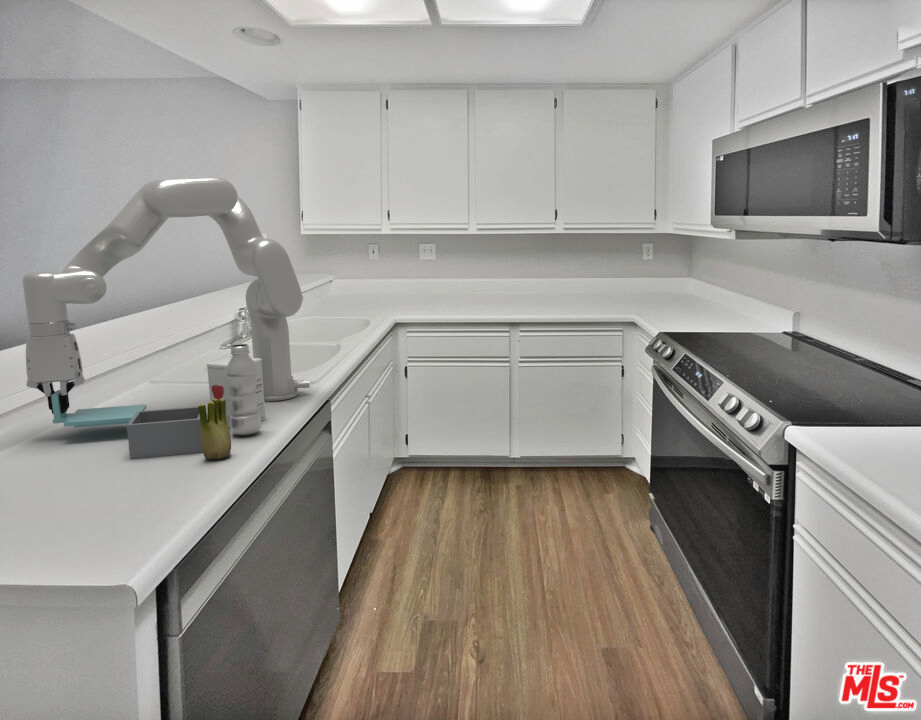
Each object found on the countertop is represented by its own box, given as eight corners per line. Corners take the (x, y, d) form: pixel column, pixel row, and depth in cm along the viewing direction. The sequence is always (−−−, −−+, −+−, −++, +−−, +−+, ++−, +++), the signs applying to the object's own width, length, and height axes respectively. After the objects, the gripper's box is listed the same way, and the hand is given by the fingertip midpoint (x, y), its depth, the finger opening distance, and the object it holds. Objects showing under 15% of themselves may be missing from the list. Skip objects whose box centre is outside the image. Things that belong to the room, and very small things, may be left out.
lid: (146, 411, 169) (143, 381, 168) (137, 424, 158) (134, 392, 157) (64, 417, 165) (60, 386, 163) (49, 431, 154) (44, 398, 152)
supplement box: (210, 426, 166) (204, 363, 164) (235, 416, 175) (230, 355, 172) (243, 429, 163) (238, 365, 160) (267, 419, 172) (262, 357, 169)
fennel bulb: (203, 463, 141) (197, 404, 139) (201, 456, 146) (195, 398, 143) (234, 459, 144) (229, 401, 141) (231, 452, 148) (226, 395, 146)
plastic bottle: (229, 432, 162) (221, 344, 158) (260, 428, 164) (253, 341, 160) (232, 440, 156) (224, 349, 152) (264, 436, 158) (257, 346, 154)
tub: (208, 436, 159) (205, 406, 157) (203, 452, 148) (200, 419, 147) (140, 442, 155) (136, 411, 154) (130, 458, 145) (126, 425, 143)
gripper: (92, 325, 161) (101, 405, 164) (15, 329, 157) (26, 410, 161) (84, 330, 154) (93, 413, 157) (3, 334, 150) (15, 419, 154)
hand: (59, 411), depth 159 cm, fingers closed on lid, 1 cm apart
